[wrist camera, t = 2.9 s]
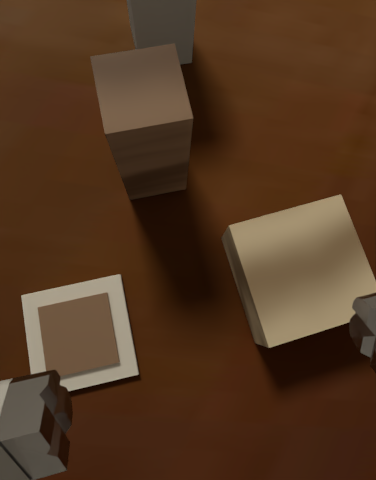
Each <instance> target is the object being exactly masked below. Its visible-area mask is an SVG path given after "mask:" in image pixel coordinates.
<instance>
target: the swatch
mask: <svg viewBox="0 0 376 480" xmlns="http://www.w3.org/2000/svg"><path fill="white" fill-rule="evenodd" d="M21 297H22V305H23V313H24V321H25V329H26V337H27V345H28V353H29V361H30V369H31V374H35V373H40V372H45V371H50V370H56V371H57V372H58V374H59V375H60V377H61V378H60V385H61V386H64V387H66V388H67V390H68V391H72V390H77V389H81V388H85V387H89V386H93V385H97V384H101V383H106V382H110V381H114V380H118V379H122V378H126V377H131V376H135V375H139V370H138V365H137V359H136V354H135V348H134V343H133V338H132V332H131V327H130V321H129V316H128V310H127V305H126V300H125V294H124V289H123V283H122V278H121V274H119V275H114V276H109V277H105V278H100V279H95V280H91V281H86V282H81V283H77V284H72V285H67V286H63V287H58V288H53V289H49V290H44V291H39V292H35V293H30V294H25V295H21Z"/></svg>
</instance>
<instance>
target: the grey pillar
mask: <svg viewBox="0 0 376 480" xmlns="http://www.w3.org/2000/svg"><path fill="white" fill-rule="evenodd" d="M127 5H128V12H129V19H130V26H131V31H132V35H133V40H134V44H135V49H142V48H148V47H154V46H161V45H167V44H173V43H175V46H176V50H177V54H178V58H179V62H180V65H181V64H187V63H192V53H193V39H194V26H195V12H196V0H127Z"/></svg>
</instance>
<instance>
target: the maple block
mask: <svg viewBox="0 0 376 480" xmlns="http://www.w3.org/2000/svg"><path fill="white" fill-rule="evenodd" d="M221 239H222V242H223V245H224V248H225V251H226V254H227V258H228V261H229V264H230V267H231V270H232V273H233V276H234V279H235V283H236V286H237V289H238V292H239V295H240V298H241V301H242V304H243V308H244V311H245V314H246V317H247V320H248V323H249V326H250V329H251V332H252V336H253V339H254V342H255V343H256V344H259V345H262V346H265V347H268V348H271V347H274V346H277V345H280V344H283V343H286V342H289V341H292V340H296V339H299V338H302V337H305V336H308V335H311V334H314V333H318V332H321V331H324V330H327V329H330V328H333V327H336V326H339V325H343V324H346V323H349V322H350V319H351V317H352V316H353V315H354V314H355V313H356V312H355V311H354V310H353V308H352V305H353V301H354V300H355V299H356V297H360V296H364V295H368V294H372V293H376V281H375V278H374V276H373V273H372V271H371V268H370V266H369V263H368V261H367V258H366V256H365V253H364V251H363V248H362V246H361V243H360V241H359V238H358V236H357V233H356V231H355V228H354V226H353V223H352V221H351V218H350V216H349V213H348V211H347V208H346V206H345V203H344V201H343V198H342V196H341V195H337V196H333V197H330V198H326V199H323V200H319V201H315V202H312V203H308V204H305V205H301V206H297V207H294V208H290V209H287V210H283V211H280V212H276V213H272V214H269V215H265V216H262V217H258V218H254V219H251V220H247V221H244V222H240V223H236V224H233V225H229V226H228V228H227V230H226V231H225V233H224V234H223V236H222V237H221Z"/></svg>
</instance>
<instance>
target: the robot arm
mask: <svg viewBox="0 0 376 480" xmlns="http://www.w3.org/2000/svg"><path fill="white" fill-rule="evenodd" d="M352 308H353V310H354V311H355V312H356V313H355V314H354V315H353V316H352V317H351V319H350V322H349V331H350V335H351V338H352V340H353V342H354V344H355V346H356V347H357V349H358V350H359V351H360V352H361V353H362V354H364V355H366V356H368V357H370V366H371V368H372V369H373V370H374V372H375V373H376V293H372V294H368V295H364V296H360V297H356V299H355V300H354V301H353V305H352ZM60 378H61V377H60V375H59V374H58V372H57V371H56V370H50V371H45V372H40V373H35V374H31V375H26V376H21V377H16V378H12V379H8V380H3V381H0V480H35V479H39V478H42V477H46V476H49V475H52V474H56V473H59V472H63V471H66V470H67V465H68V456H69V446H70V441H69V440H68V438H67V437H66V435H65V433H66V432H67V431H68V429H69V428H70V426H71V425H72V415H73V411H72V401H71V397H70V394H69V392H68V390H67V388H66V387H64V386H61V385H60Z"/></svg>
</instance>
